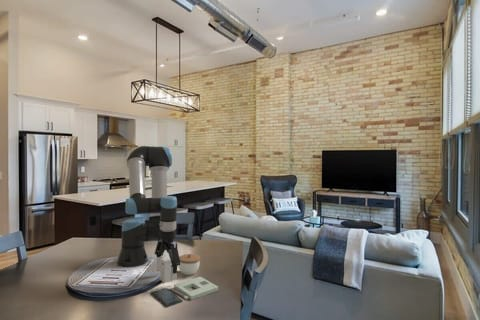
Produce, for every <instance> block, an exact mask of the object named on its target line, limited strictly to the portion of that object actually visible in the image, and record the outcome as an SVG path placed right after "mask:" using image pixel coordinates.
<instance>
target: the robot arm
mask: <svg viewBox="0 0 480 320" xmlns="http://www.w3.org/2000/svg"><path fill="white" fill-rule="evenodd" d="M172 165H173V156H172V151H171V149H170V148H169V147H166V146H148V145H141V146H138V147H136V148H134V149H133V150H132V151H131V152H130V153H129V155H128V157H127V160H126V167H127V168H128V180H129V181H128V182H129V186H128V187H129V198H126V199H125V213H126V214H127V215H143V214H144V215H146V214H148V219H146V218H145V217H144V216H138V217H137V216H136V217H135V216H134V217H131V218H128V219H125V220H124V221H123V222H122V225H121V246H120V247H121V248H120V251H119V254H118V257H117V265H118V266H120V267H127V268H128V267H139V266H142V265H144V264H146V263H147V262H148V255H147V252H146V248H145V243H146V242H156V241H157V244H156V247H155V250H154V255H156V256H155V257H156V271H157V272H161V259H162V258H164V252H165V251H166V252H167V254H168V257H170V260H171V263H172V265H171V281H170V282H172V281H176V280H178V267H179V265H180V259H179V257H180V255H179V250H178V242H174V239H176V238H177V237H176V236H177V230H176V229H177V213H178V212H177V211H178V209H177V208H178V207H177V206H178V199H177V197H176V196H174V195H168V183H167V182H168V181H167V179H168V174H167V172H168V171H169V170H170V167H172ZM145 167H148V170H149V171H150V172H151V197H147V196H146V195H147V194H146V184H145V173H144V172H145ZM146 197H147V198H146Z"/></svg>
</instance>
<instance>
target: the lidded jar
mask: <svg viewBox="0 0 480 320" xmlns="http://www.w3.org/2000/svg"><path fill="white" fill-rule="evenodd" d="M179 259H180V265H178V268H179V271H180V272H181V273H182V274H183V275H184V276H193V275H195V274H196V272H198V270H199V268H200V266H201V265H200V264H201V256H200V255H198V254H195V253H189V254H187V253H186V254H181V255H179Z"/></svg>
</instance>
